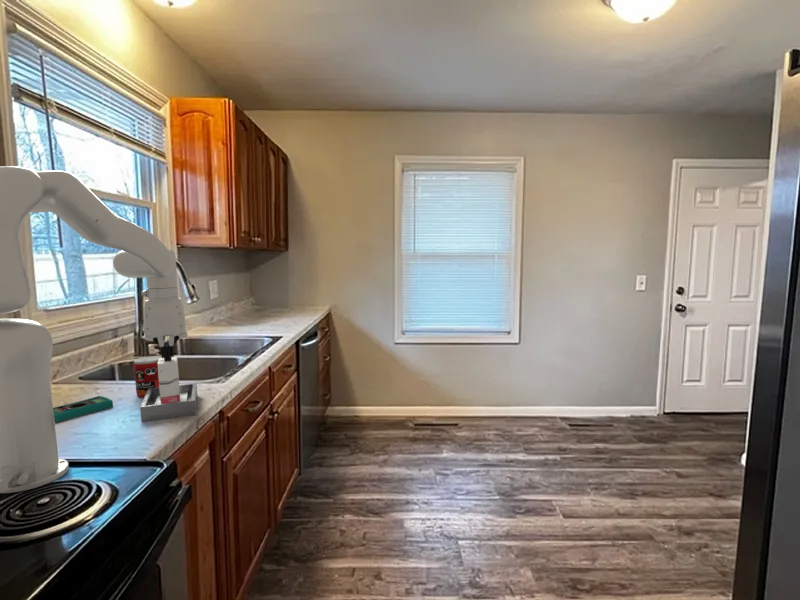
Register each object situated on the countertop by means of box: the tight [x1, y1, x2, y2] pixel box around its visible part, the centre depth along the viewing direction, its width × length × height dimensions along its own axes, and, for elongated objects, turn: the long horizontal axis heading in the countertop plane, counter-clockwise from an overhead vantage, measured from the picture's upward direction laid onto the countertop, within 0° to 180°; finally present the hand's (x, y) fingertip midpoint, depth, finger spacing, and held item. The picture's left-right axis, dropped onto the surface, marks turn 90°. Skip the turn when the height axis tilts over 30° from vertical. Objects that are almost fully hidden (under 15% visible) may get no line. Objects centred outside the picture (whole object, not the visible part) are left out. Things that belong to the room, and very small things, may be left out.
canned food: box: [133, 355, 162, 398], centre depth 146 cm, size 8×8×11 cm
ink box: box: [157, 356, 180, 404], centre depth 132 cm, size 9×5×12 cm, turn 24°
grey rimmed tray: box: [139, 382, 198, 423], centre depth 133 cm, size 18×13×4 cm
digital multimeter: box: [53, 395, 114, 423], centre depth 131 cm, size 7×15×3 cm, turn 146°
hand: (168, 359), depth 131 cm, fingers closed
